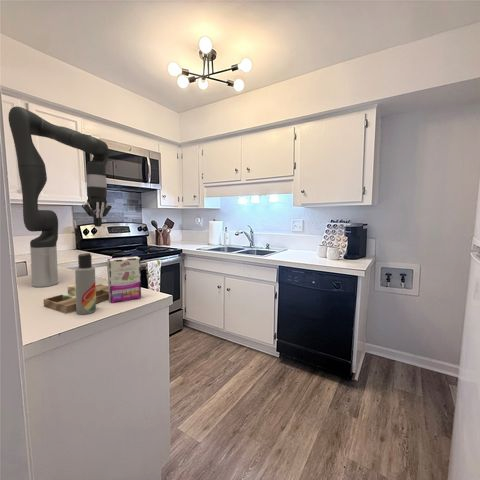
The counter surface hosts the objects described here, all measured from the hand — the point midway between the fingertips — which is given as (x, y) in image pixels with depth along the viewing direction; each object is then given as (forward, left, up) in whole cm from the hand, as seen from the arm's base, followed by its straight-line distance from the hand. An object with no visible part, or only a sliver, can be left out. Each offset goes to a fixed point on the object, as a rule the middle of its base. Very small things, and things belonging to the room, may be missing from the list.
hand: (97, 226), depth 112 cm
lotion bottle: (+22, -21, -27) cm, 41 cm away
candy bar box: (+23, -6, -27) cm, 36 cm away
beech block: (+8, -15, -24) cm, 30 cm away
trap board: (+12, -14, -27) cm, 33 cm away
